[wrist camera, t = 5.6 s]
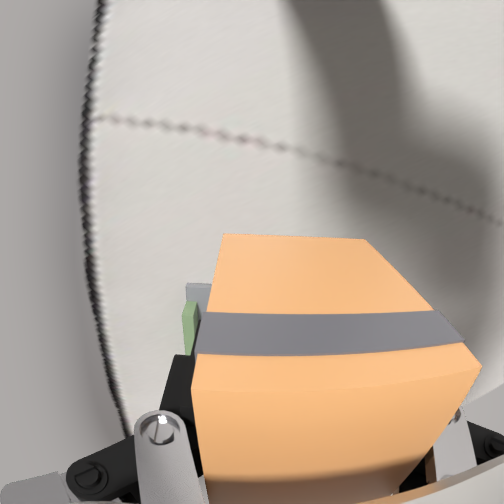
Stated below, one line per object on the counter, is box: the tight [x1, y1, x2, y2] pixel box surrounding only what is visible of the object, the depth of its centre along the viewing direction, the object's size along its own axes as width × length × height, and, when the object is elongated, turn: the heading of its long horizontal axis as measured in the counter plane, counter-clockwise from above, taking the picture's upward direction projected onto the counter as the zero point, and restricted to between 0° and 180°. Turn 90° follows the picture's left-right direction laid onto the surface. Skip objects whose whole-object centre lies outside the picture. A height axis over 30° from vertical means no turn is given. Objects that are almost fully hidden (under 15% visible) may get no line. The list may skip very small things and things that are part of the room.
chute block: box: [191, 234, 482, 504], centre depth 9 cm, size 8×5×7 cm, turn 178°
